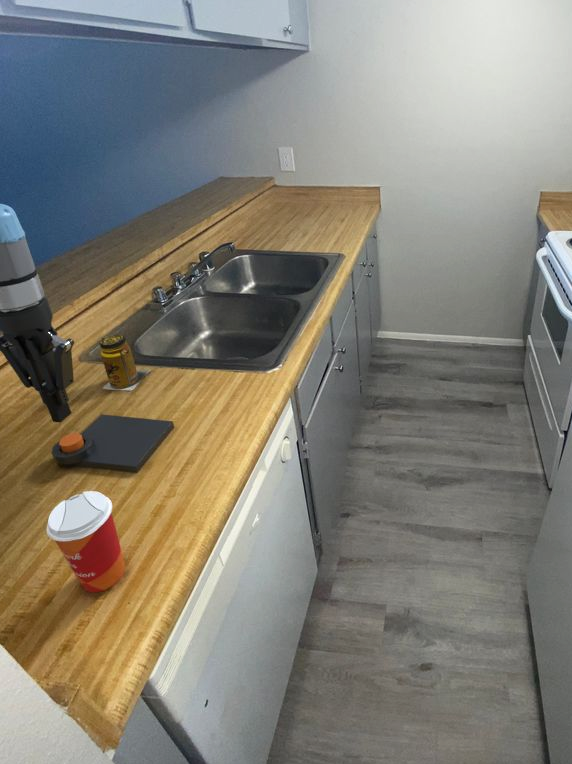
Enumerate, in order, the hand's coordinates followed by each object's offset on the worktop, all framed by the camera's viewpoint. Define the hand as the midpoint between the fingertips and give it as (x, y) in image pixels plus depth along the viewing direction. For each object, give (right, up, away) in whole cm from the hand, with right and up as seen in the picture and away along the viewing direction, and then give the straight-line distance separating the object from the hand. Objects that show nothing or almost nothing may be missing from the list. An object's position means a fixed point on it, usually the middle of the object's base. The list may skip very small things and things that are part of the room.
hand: (62, 417), depth 87 cm
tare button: (0, -6, +3) cm, 7 cm away
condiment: (-4, +3, +28) cm, 28 cm away
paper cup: (+18, -21, -16) cm, 31 cm away
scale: (+5, -7, +8) cm, 12 cm away
